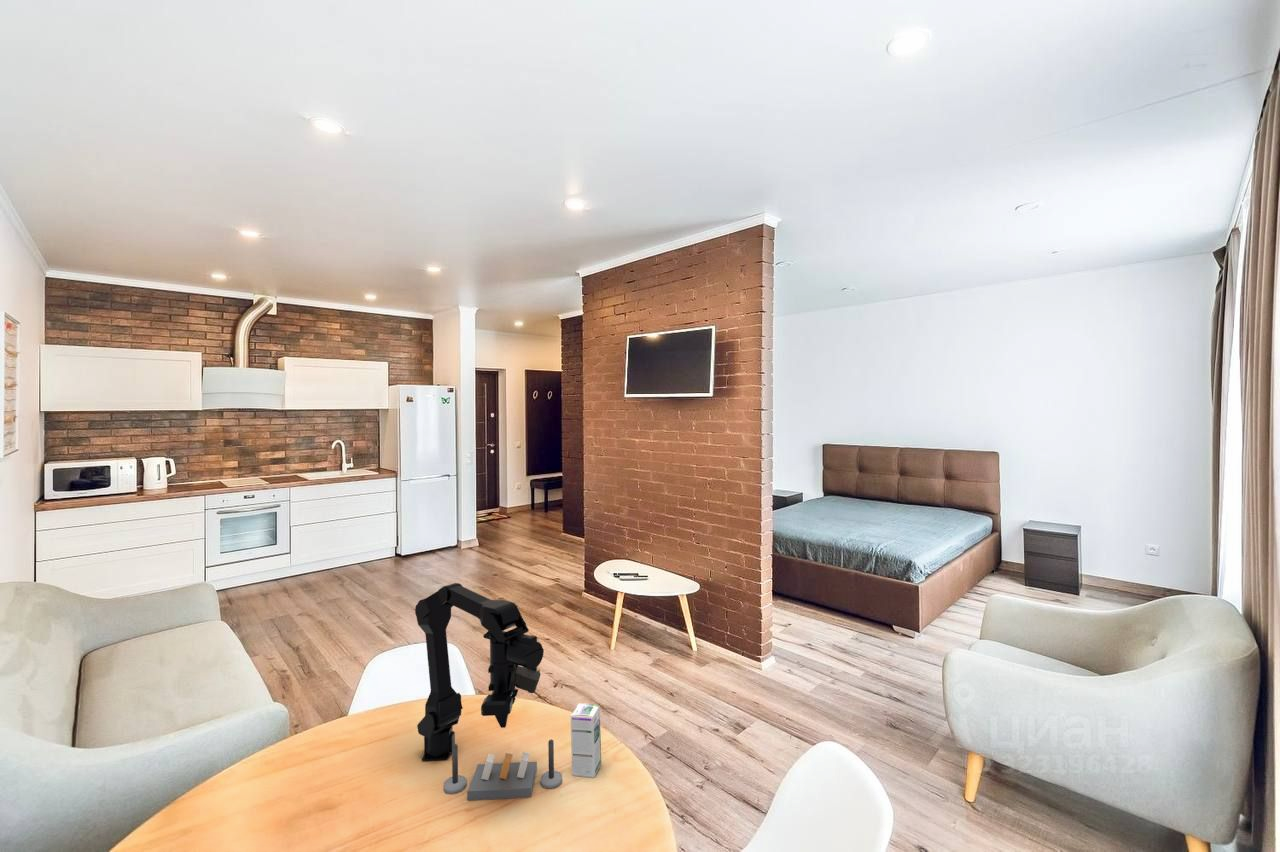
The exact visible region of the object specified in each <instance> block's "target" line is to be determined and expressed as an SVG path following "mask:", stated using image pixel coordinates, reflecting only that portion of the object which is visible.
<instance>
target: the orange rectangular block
mask: <svg viewBox="0 0 1280 852" xmlns="http://www.w3.org/2000/svg"><path fill="white" fill-rule="evenodd" d="M512 758H513V753H510V752H509V753H507V752H506V753H505V755H504V758H503V761H502V763H503V765H502V769H501V772H500V776H499V778H502V779H506V778H507V774H508V771H509V767H510V763H512Z"/></svg>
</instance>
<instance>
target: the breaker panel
mask: <svg viewBox="0 0 1280 852" xmlns="http://www.w3.org/2000/svg"><path fill="white" fill-rule="evenodd" d="M520 762H521V761H519V762H518V761H517V762H515V761H514V762H511V763H510V767H509V771H508V774H507V778H506V779H502V778H499V776H500V772H501V769H502V765H503V762H498V763H497V762H496V763H495V762H494V763H493V767H492V770H491V774H490V777H489V779H488V780H485V779H481V778H482V774H483V770H484V767H485V763H482V764H481V763H478V764H477V765H476V768H475V771H474V773H473V776H472V778H471V781H470V783H469V785H468V788H467V791H466V800H467V801H469V802H470V801H485V800H488V801H489V800H505V799H506V800H507V799H522V798H532V794H533V790H534V787H535V786H534V785H535V779H536V775H537V771H538V762H537V761H536V760H535V761H528V763H527V767H526V771H525V775H524V778H519V777H517V774H518V770H519V766H520Z"/></svg>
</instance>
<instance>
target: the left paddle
mask: <svg viewBox="0 0 1280 852" xmlns="http://www.w3.org/2000/svg"><path fill="white" fill-rule="evenodd" d="M495 758H496V755H495V754H492V753H488V755H487V758H486V761H485V763H484V764H485V767H484V770H483V774H482V778H481V779H485V780H488V779H489V777H490V774H491V770H492V767H493V764H495Z"/></svg>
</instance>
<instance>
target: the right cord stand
mask: <svg viewBox="0 0 1280 852" xmlns="http://www.w3.org/2000/svg"><path fill="white" fill-rule="evenodd" d="M554 743H555V742H554V739H552V738H551V739H549V740H548V742H547V747H548V753H547V754H548V771H545V772H544V773H542V774H541V776H540V779H539V781H540V786H541V788H543V789H545V790H555V789H557V788H559V787H560V786H561V785H562V783H563V774H562V772H560V771H558V770H555V762H554V761H555V760H554V759H555V756H554V751H555V747H554Z"/></svg>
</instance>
